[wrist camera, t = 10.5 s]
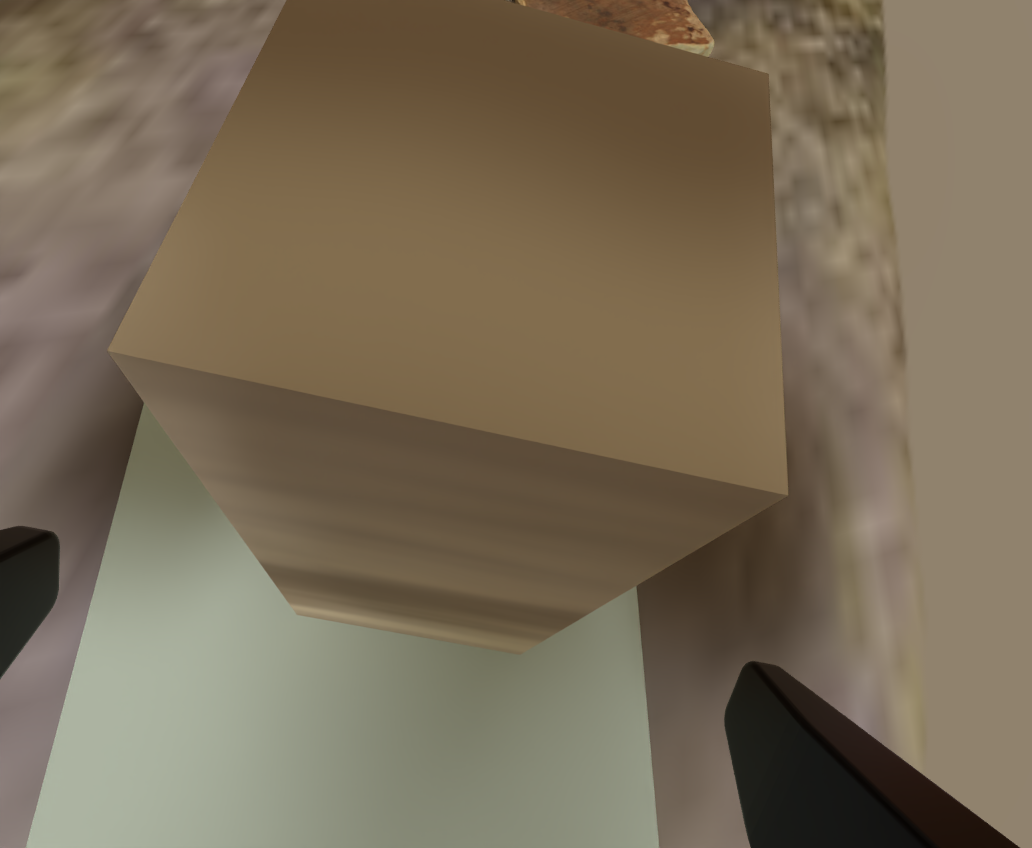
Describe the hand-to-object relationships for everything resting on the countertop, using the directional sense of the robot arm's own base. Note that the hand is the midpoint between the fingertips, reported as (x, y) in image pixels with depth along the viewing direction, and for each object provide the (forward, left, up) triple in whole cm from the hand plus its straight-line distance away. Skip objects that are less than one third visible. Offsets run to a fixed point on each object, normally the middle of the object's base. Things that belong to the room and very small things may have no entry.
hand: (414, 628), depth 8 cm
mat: (+1, +1, -7) cm, 7 cm away
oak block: (+3, 0, -6) cm, 7 cm away
